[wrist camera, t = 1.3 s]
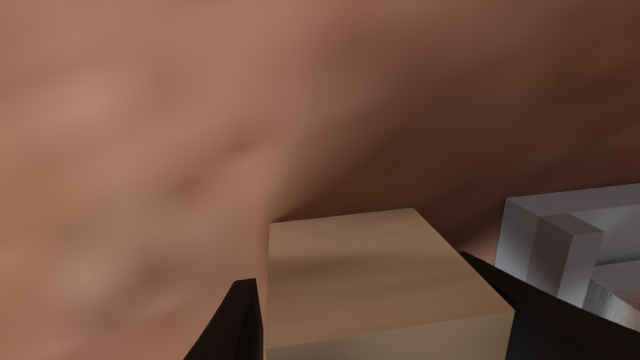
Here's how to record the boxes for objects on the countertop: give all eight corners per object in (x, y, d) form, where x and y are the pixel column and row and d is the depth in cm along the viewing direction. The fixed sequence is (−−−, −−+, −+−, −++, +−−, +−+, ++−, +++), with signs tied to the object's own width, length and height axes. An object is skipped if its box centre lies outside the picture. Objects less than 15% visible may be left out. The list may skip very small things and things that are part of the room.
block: (407, 297, 12) (487, 438, 8) (281, 315, 12) (285, 479, 7) (412, 206, 11) (515, 310, 6) (269, 222, 10) (265, 349, 6)
